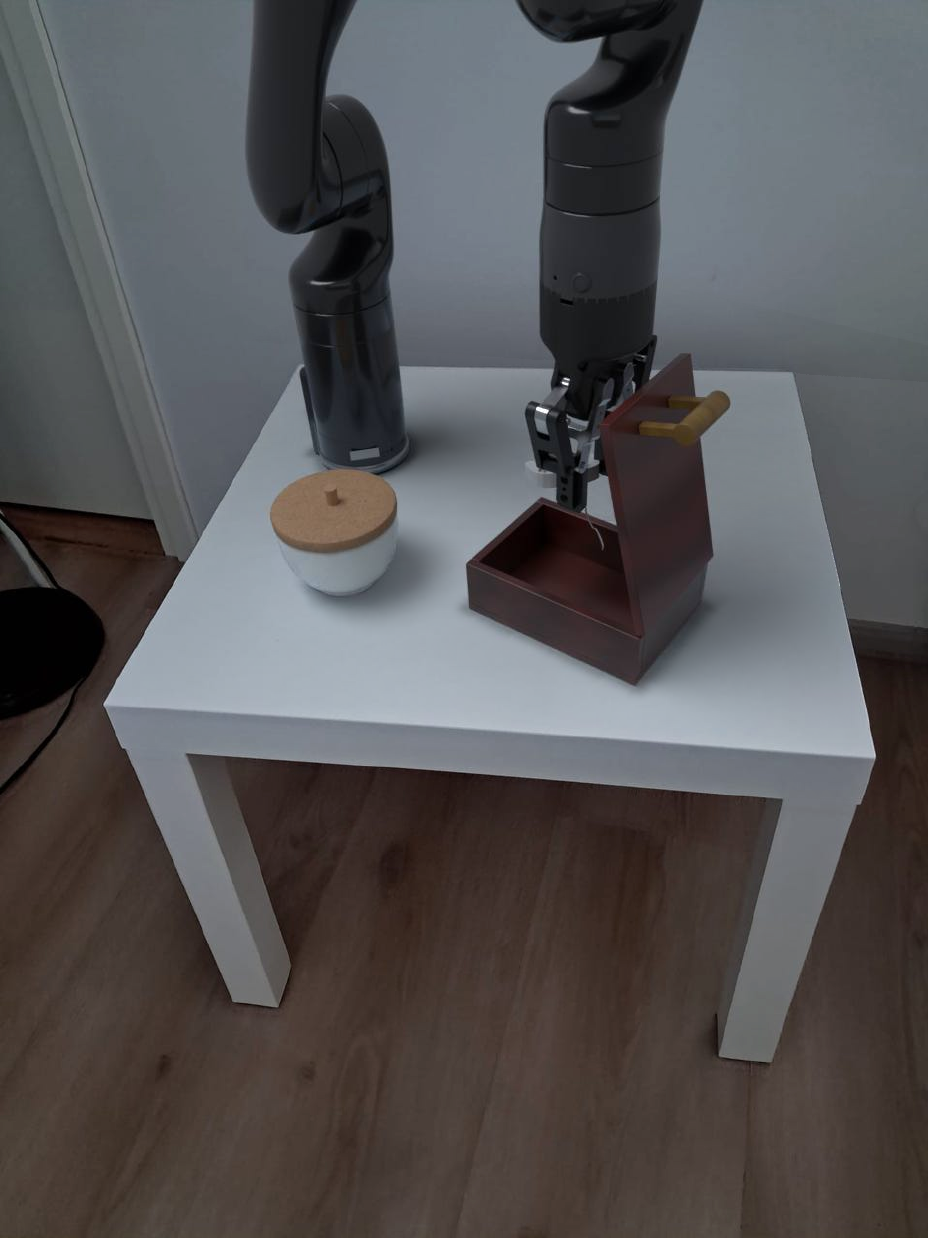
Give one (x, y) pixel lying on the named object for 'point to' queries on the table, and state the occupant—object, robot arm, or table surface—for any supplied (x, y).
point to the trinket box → (337, 529)
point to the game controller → (549, 479)
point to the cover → (661, 487)
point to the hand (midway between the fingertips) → (589, 489)
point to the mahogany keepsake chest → (572, 590)
